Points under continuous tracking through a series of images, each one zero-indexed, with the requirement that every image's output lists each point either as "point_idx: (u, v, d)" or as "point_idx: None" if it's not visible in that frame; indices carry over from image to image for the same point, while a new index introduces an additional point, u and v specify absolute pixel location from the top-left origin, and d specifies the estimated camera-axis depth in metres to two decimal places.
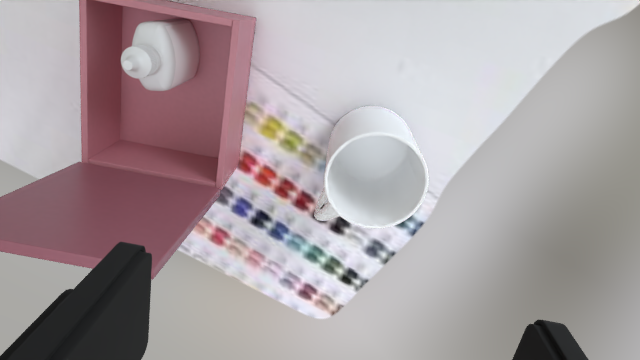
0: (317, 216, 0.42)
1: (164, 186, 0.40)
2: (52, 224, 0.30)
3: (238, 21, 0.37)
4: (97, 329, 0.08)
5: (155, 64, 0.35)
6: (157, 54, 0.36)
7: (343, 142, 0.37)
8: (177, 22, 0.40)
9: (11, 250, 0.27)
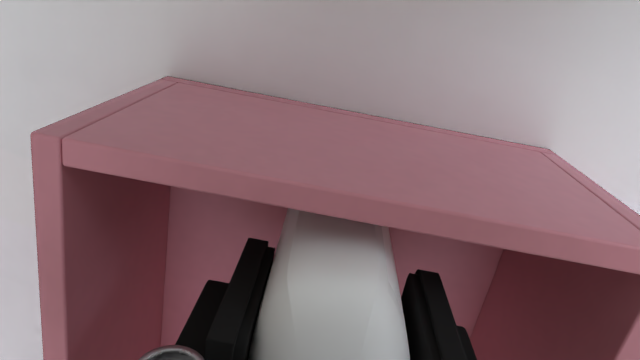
0: None
1: None
2: None
3: None
4: (256, 313, 0.09)
5: None
6: None
7: None
8: None
9: None
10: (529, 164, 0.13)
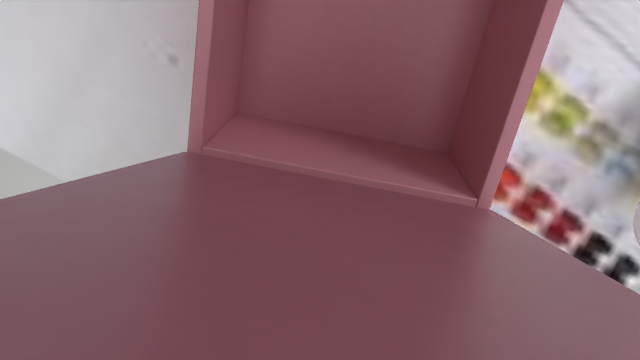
0: None
1: (399, 200, 0.17)
2: (278, 292, 0.06)
3: None
4: None
5: None
6: None
7: None
8: None
9: None
10: None
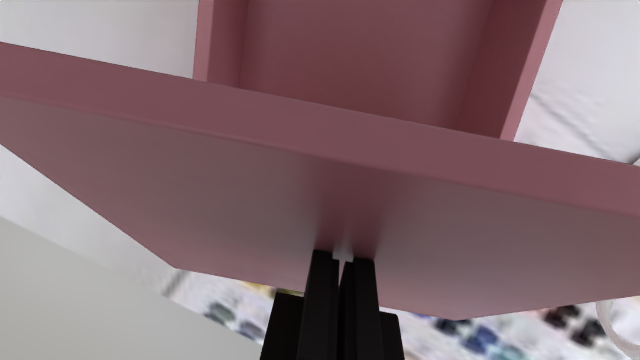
0: None
1: None
2: None
3: None
4: None
5: None
6: None
7: None
8: None
9: (260, 129, 0.06)
10: None
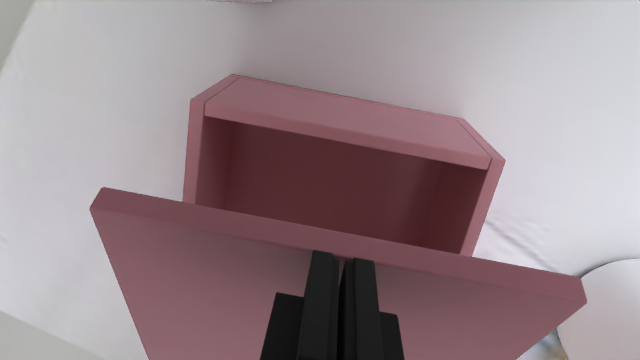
0: None
1: None
2: None
3: (502, 161, 0.19)
4: None
5: None
6: None
7: None
8: None
9: (270, 236, 0.12)
10: (444, 124, 0.23)
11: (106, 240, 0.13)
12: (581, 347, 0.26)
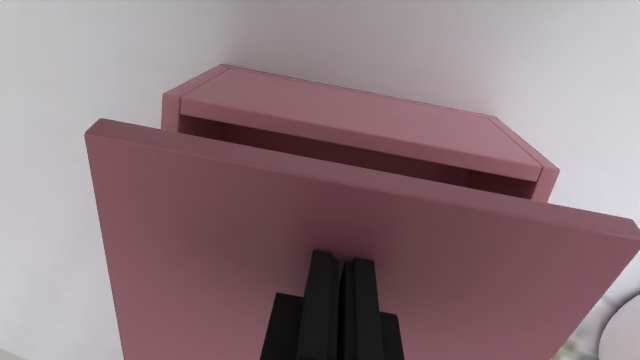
0: None
1: None
2: None
3: (556, 170, 0.15)
4: None
5: None
6: None
7: None
8: None
9: (287, 166, 0.11)
10: (474, 123, 0.19)
11: (98, 182, 0.11)
12: None
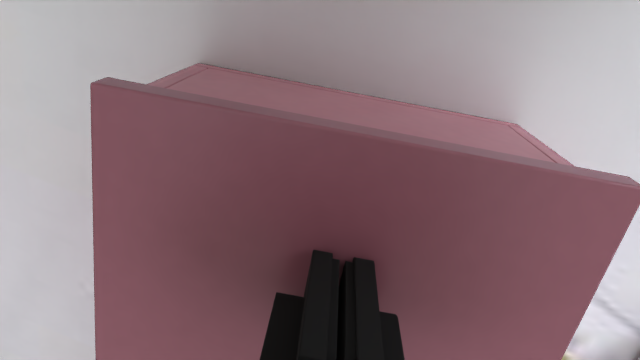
0: None
1: None
2: None
3: None
4: None
5: None
6: None
7: None
8: None
9: (291, 118, 0.11)
10: (495, 132, 0.16)
11: (98, 139, 0.11)
12: None
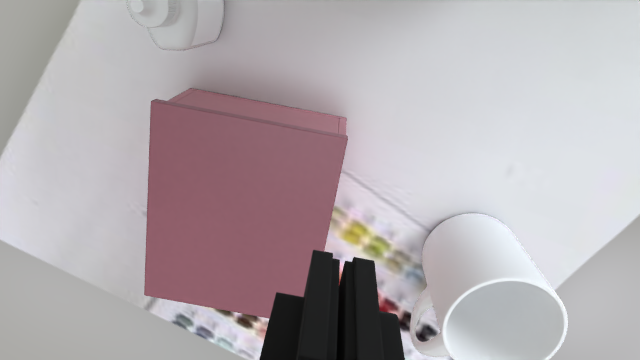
0: (420, 350, 0.37)
1: None
2: None
3: None
4: None
5: (173, 9, 0.26)
6: None
7: (469, 286, 0.31)
8: None
9: (221, 114, 0.30)
10: (325, 121, 0.36)
11: (152, 121, 0.30)
12: (427, 271, 0.39)
